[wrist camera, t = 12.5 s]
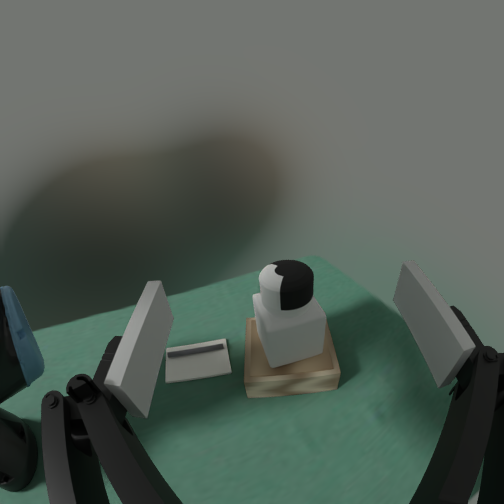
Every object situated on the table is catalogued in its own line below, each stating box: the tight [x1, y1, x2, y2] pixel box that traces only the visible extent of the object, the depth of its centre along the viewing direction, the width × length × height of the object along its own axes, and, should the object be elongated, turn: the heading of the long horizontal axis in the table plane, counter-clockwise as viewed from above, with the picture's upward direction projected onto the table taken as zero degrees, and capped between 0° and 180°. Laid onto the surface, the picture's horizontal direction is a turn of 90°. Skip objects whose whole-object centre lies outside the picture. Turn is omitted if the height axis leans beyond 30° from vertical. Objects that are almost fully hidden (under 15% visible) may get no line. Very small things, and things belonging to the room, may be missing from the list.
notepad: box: [165, 339, 232, 383], centre depth 39 cm, size 10×7×2 cm
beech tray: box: [244, 318, 341, 398], centre depth 37 cm, size 12×12×4 cm
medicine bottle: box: [253, 260, 326, 368], centre depth 33 cm, size 7×7×12 cm
